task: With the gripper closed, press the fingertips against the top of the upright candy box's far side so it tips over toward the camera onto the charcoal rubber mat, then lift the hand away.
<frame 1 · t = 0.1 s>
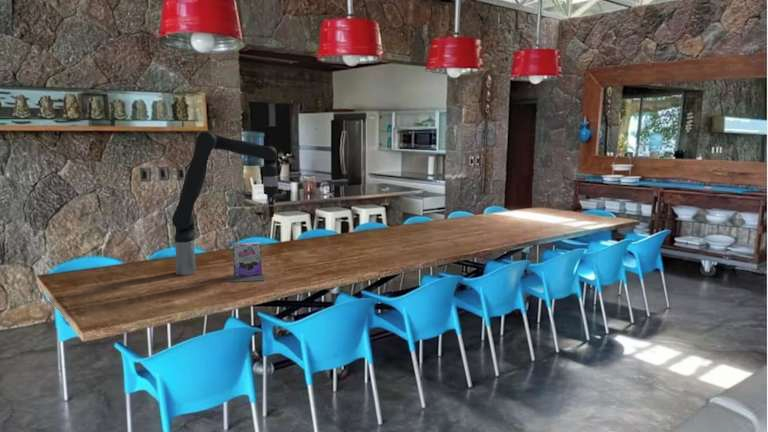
hand: (271, 215, 282), 29 cm above the table, tool pointing down, fingers open, 8 cm apart
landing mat: (246, 279, 268), on the table
candy box: (248, 275, 277), on the table
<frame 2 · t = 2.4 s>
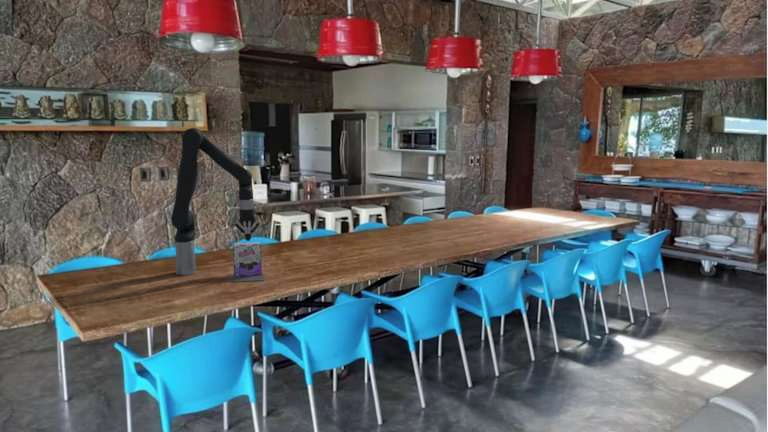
hand: (248, 240, 282), 16 cm above the table, tool pointing down, fingers closed
nothing on the table moved.
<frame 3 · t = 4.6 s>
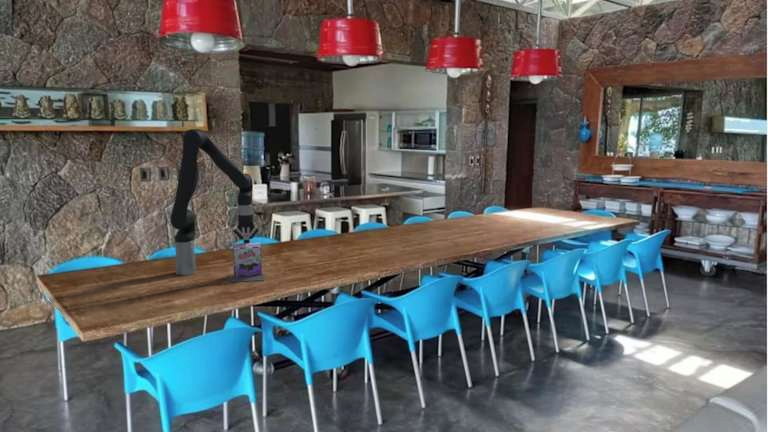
hand: (247, 246, 274), 15 cm above the table, tool pointing down, fingers closed
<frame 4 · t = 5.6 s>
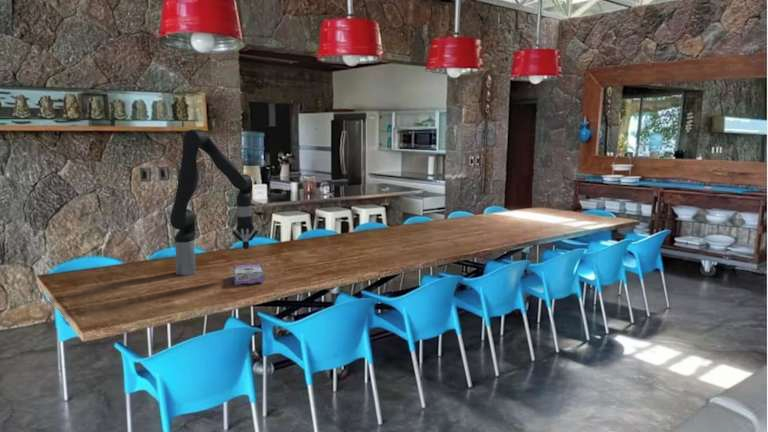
hand: (246, 248, 270), 15 cm above the table, tool pointing down, fingers closed
candy box: (248, 269, 274), point 3 cm above the table, touching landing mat
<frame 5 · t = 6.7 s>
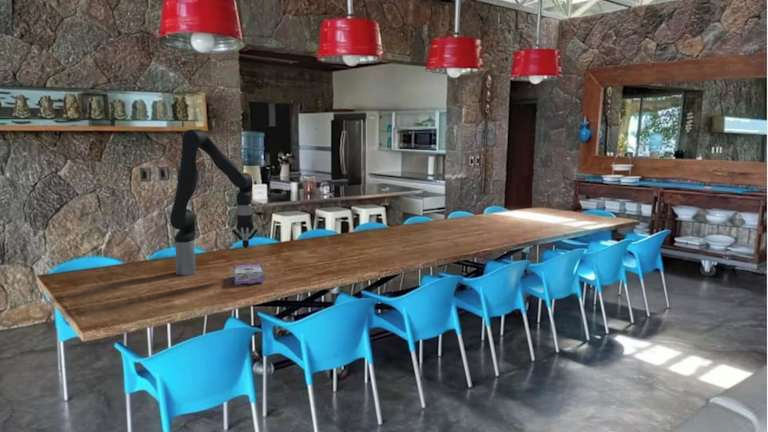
hand: (245, 247, 270), 15 cm above the table, tool pointing down, fingers closed
nothing on the table moved.
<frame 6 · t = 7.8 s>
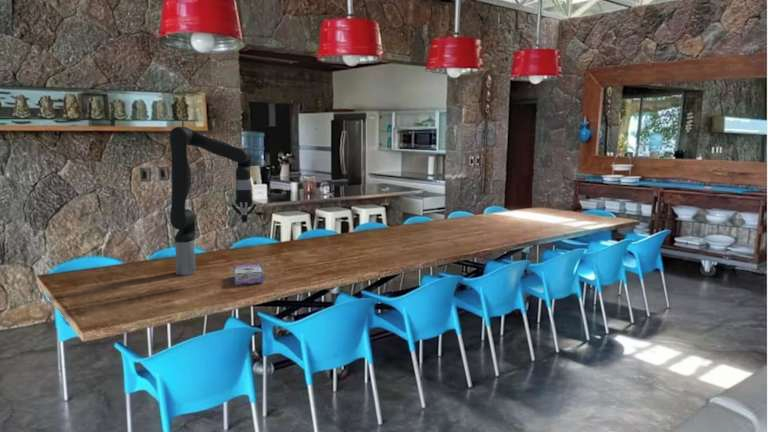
hand: (244, 222, 273), 27 cm above the table, tool pointing down, fingers closed
nothing on the table moved.
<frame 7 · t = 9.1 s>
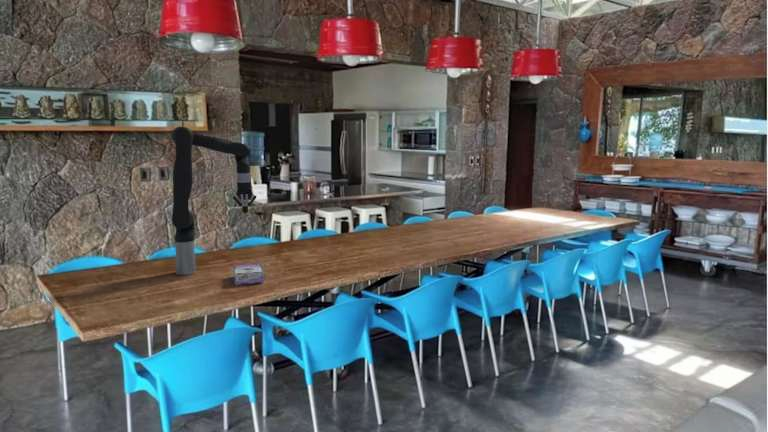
hand: (245, 213, 291), 29 cm above the table, tool pointing down, fingers closed
nothing on the table moved.
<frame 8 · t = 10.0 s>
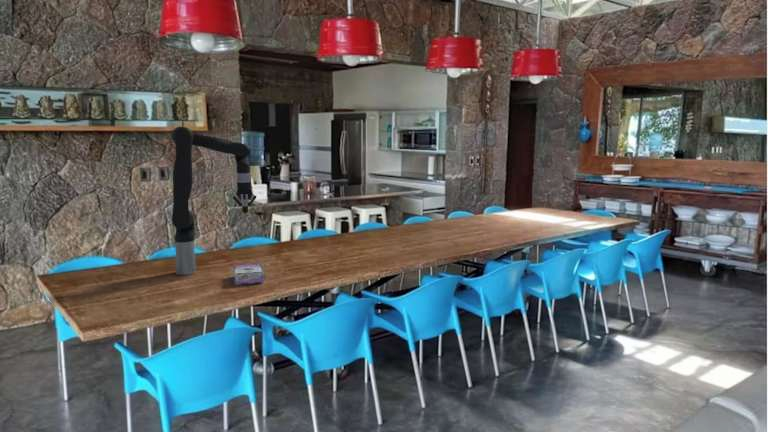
hand: (245, 213, 291), 29 cm above the table, tool pointing down, fingers closed
nothing on the table moved.
at the end: candy box tilted 90°; candy box inside the target area (1.5 cm from its centre), point 3.2 cm above the table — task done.
